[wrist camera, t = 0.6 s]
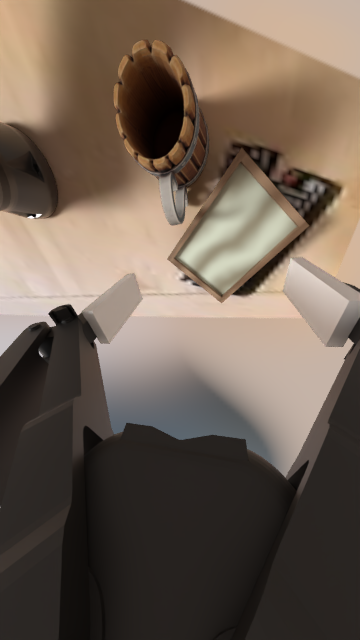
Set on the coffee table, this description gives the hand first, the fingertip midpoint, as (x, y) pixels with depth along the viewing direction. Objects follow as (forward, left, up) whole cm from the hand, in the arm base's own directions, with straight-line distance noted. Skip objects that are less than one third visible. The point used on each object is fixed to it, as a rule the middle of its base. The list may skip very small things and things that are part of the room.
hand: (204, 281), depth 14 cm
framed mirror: (+3, +2, -26) cm, 26 cm away
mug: (-12, +5, -26) cm, 29 cm away
